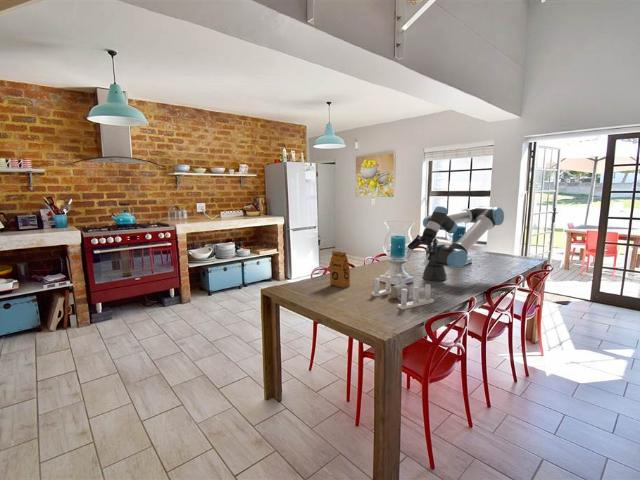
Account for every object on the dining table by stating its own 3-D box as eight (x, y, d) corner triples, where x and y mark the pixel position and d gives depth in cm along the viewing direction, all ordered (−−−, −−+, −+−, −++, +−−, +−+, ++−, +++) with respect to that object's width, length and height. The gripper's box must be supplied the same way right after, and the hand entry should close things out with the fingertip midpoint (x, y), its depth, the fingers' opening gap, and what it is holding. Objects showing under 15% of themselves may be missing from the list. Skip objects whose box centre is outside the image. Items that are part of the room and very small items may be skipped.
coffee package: (341, 289, 199) (340, 254, 195) (327, 285, 208) (327, 251, 205) (352, 286, 205) (352, 251, 202) (339, 282, 214) (338, 249, 211)
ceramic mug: (389, 296, 184) (390, 283, 182) (402, 295, 186) (403, 282, 184) (399, 303, 174) (399, 289, 172) (412, 301, 176) (413, 287, 174)
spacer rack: (400, 289, 196) (400, 273, 195) (433, 302, 173) (434, 285, 171) (371, 294, 187) (371, 278, 186) (402, 309, 164) (402, 291, 162)
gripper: (411, 224, 202) (396, 254, 199) (446, 230, 181) (429, 264, 179) (418, 230, 206) (403, 259, 204) (452, 236, 185) (436, 269, 183)
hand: (415, 261), depth 191 cm, fingers open, 13 cm apart
